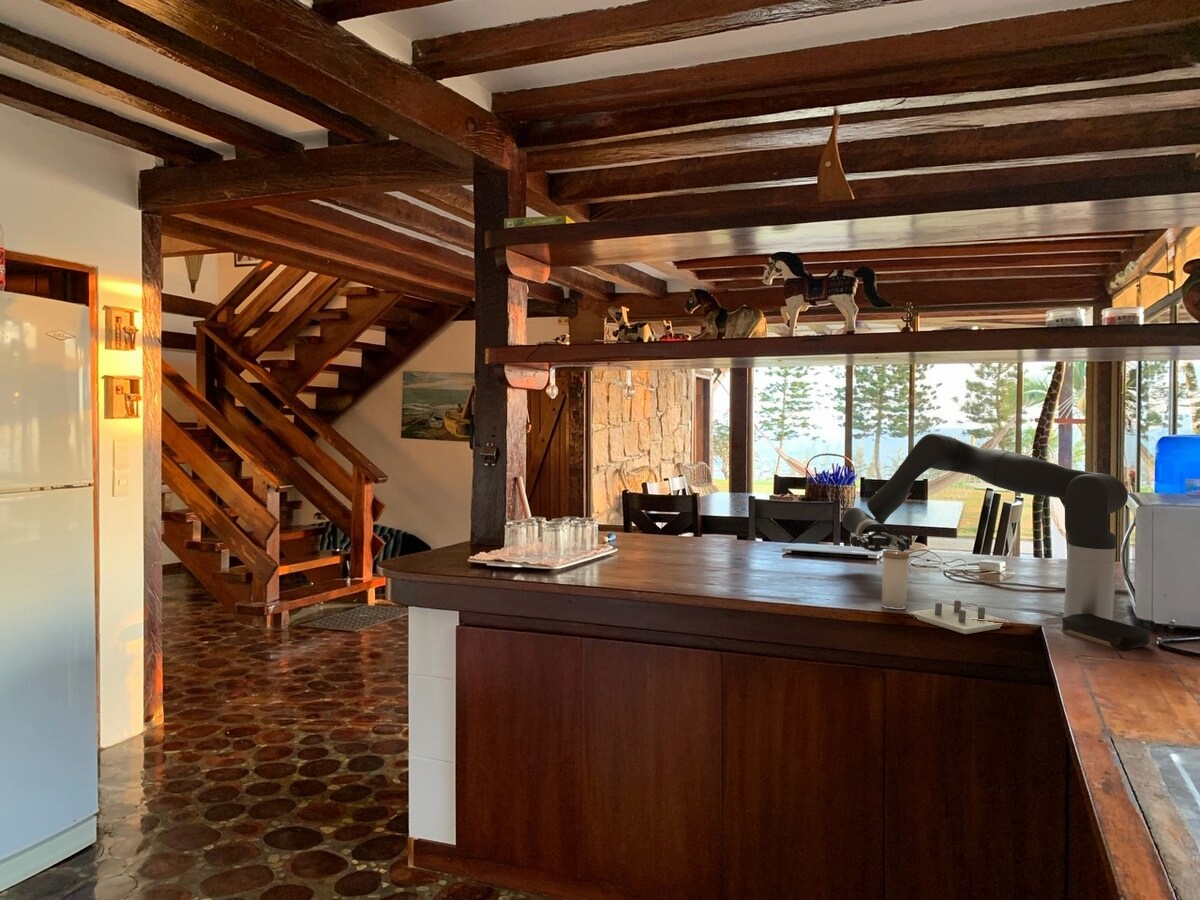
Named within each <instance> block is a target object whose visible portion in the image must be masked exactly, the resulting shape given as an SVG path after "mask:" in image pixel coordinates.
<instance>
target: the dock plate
mask: <svg viewBox="0 0 1200 900" xmlns="http://www.w3.org/2000/svg"><path fill="white" fill-rule="evenodd" d="M985 612H986V607H983V606H978V607H977V611H976V610H971V609H968V608H964V607H962V601H961V600H957V599H955V600H954V601H953V605H948V606H943V604H942V603H940V602H935V604H934V608H928V609H922V610H916V611H915V610H914V611H909V612H907V613H908V614H911V615H914V616H915V617H916V618H917V619H916V620H919V621H921V622H924V623H927V624H931V625H935V626H937V627H941V628H944V629H947V630H951V631H954V632H957V633H960V634H964V635H968V634H975V633H980V632H985V631H991V630H997V629H1001V628H1000V627H1001V626H1002V624H1003V623H994V622H988V621H977V620H972V619H967V618H966V617H968V618H971V617H976V616H978V619H985V617H986V618H989V619H993V618H996V619H1000V620H1001V619H1002V620H1006V621H1010V620H1007V619H1003V618H1000V617H996V616H993V615H989V614H986V613H985ZM1010 622H1012V620H1011V621H1010Z"/></svg>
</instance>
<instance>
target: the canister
mask: <svg viewBox="0 0 1200 900" xmlns="http://www.w3.org/2000/svg"><path fill="white" fill-rule="evenodd" d="M882 557H883V559H882V560H883V561H882V581H881V582H882V584H881V585H882V586H881V600H880V603H881V605H883V606H887V607H894V608H903V607H906V608H907V594H908V574H909V572H908V571H909V558H910V553H909V552H907V551H905V550H904V551H900V550H896V549H886V550H882ZM881 605H880V606H881Z"/></svg>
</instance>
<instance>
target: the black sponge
mask: <svg viewBox="0 0 1200 900" xmlns="http://www.w3.org/2000/svg"><path fill="white" fill-rule="evenodd" d="M1061 622H1062V623H1061V625H1062V626H1061V630H1060V631H1061V632H1062V633H1065V634H1068V635H1071V636H1075V637H1078V638H1081V639H1085V640H1088V641H1091V642H1094V643H1098V644H1100V645H1104V646H1106V647H1110V648H1112V649H1115V650H1119V651H1128V650H1131V649H1135V648H1142V647H1145V646H1148V645H1149V644H1150V641H1151V638H1152V637H1151V631H1150V630H1149V629H1145V628H1143V627H1138V626H1134V625H1131V624H1126V623H1123V622H1119V621H1117V620H1116V621H1115V620H1114V619H1113V620H1109V619H1105V618H1101V617H1098V616H1095V615H1092V614H1073V615H1070V616H1068V617H1064V616H1063V617H1062V618H1061Z"/></svg>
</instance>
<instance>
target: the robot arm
mask: <svg viewBox="0 0 1200 900" xmlns="http://www.w3.org/2000/svg"><path fill="white" fill-rule="evenodd" d="M930 469H933V470H939V471H943V472H944V471H945V472H953V473H954V472H955V473H959V474H960V473H961V474H965V475H970V476H974V477H976V478H978V479H980V480H982V481H983V482H985V483H987V484H989V485H992V486H995V487H998V488H1000V489H1004V490H1007V491H1011V492H1014V493H1017V494H1018V493H1019V494H1023V495H1031V496H1039V497H1050V498H1058V499H1062V500H1064V528H1065V532H1066V534H1067V537H1068V538H1067V553H1066V554H1067V555H1066V556H1067V557H1066V571H1065V572H1066V573H1065V574H1066V575H1065V585H1064V586H1065V589H1064V603H1063V604H1064V605H1063V618H1064V617H1068V616H1070V615H1073V614H1092V615H1095V616H1098V617H1101V618H1105V619H1109V620H1113V621H1114V607H1115V593H1116V591H1115V590H1116V581H1115V570H1116V569H1115V567H1116V554H1117V553H1116V552H1117V536H1116V534H1115V533H1114V532H1111V531H1110V529H1109V525H1108V519H1109V518H1108V517H1109V515H1110V514H1113V513H1116V512H1118V511H1119V510H1121V509H1123V508H1124V506H1125V505H1126V504H1127V501H1128V498H1129V494H1128V489H1127V487H1126V486H1125V484H1124V483H1123V482H1122V481H1121V480H1120V479H1119V478H1117V477H1115V476H1114V475H1111V474H1108V473H1102V472H1093V471H1086V470H1080V469H1079V470H1078V469H1074V468H1069V467H1065V466H1062V465H1059V464H1055V463H1052V462H1049V461H1046V460H1042V459H1040V458H1035V457H1032V456H1029V455H1025V454H1022V453H1018V452H1014V451H1009V450H1005V449H996V448H995V449H994V448H993V449H992V448H982V447H978V446H976V445H972V444H969V443H967V442H965V441H962V440H959V439H957V438H955V437H952V436H948V435H943V434H939V433H928V434H926V435H924V436H922V437H921V438H920V439H919V440H918V441H917V443H916V444H915V445H914V447H913V448H912V449H911V451H910V452H909V453H908V455H907V456H906V457H905V459H904V460H903V461H902V463H901V464H900V466H899V467H898V468H897V469H896V471H895V472H894V473H893V475H892V476H891V477H890V478H889V479H888V480H887V481H886V482H885V484H884V485H882V486H881V487H880V488H879V489H878V490H877V491H876V492H875V493H874V494H873V495H872V496H871V497H870V498H869V499H868V501H867V503H866V506H867V509H868V510H869V512H870V513H871V514H872V516H873V517H872V516H870V514H868V513H867V512H865V511H864V510H863V509H862V508H860V507H851V508H850V509H848V510H847V511H846V512H845V513H844V515H843V516H842V520H841V521H842V526H843V528H844V529H846V530H847V531H849V532H850V535H849V544H850V545H851V546H852V547H855V548H856V547H857V545H858V546H859V548H863V549H864V550H868V551H870V552H874V553H877V552H881V551H882V552H883V551H884V550H885V549H887V550H896V549H898V551H904V552H905V551H906V550H910V548H911V547H910V545H911V539H910V538H908V537H907V536H905V535H903V534H901V535H899V537H898V536H896V535H893V534H890V531H889V530H888V528H887V527H886V526H885V525H884V524H885V522H886V521H887V519H888V518H890V516H891V515H892V514H893V513H894V512H895V511H896V510H897V509H899V507H901V505H902V504H903V503H904V502H905V501H906V499H907V498H908V496H909V494H910V491H911V489H912V486H913V485H914V482H915V481H916V480H917V479H918V478H919V477H920V476H921V475H922V474H924V473H925V472H927V471H928V470H930Z"/></svg>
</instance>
